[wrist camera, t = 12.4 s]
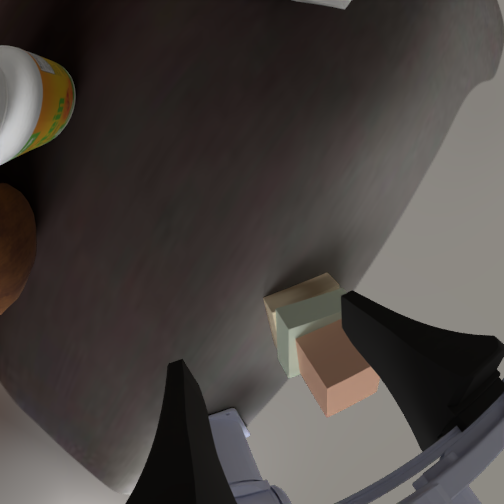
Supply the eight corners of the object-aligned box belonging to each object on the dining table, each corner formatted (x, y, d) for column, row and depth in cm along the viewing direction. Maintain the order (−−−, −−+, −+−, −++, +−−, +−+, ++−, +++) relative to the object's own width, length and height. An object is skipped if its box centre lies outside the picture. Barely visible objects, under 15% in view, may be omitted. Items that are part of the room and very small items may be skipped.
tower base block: (272, 341, 29) (282, 359, 26) (261, 294, 25) (272, 312, 23) (327, 317, 30) (340, 333, 27) (324, 269, 26) (339, 284, 24)
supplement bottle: (45, 162, 15) (-32, 218, 7) (-10, 120, 12) (-107, 149, 4) (94, 88, 14) (40, 74, 6) (36, 46, 11) (-47, 15, 3)
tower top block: (277, 358, 26) (288, 378, 24) (275, 308, 23) (288, 329, 21) (336, 338, 28) (349, 355, 26) (342, 287, 25) (359, 304, 23)
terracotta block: (299, 372, 24) (326, 417, 20) (295, 339, 22) (327, 388, 18) (346, 351, 25) (376, 391, 21) (347, 315, 23) (384, 358, 18)
